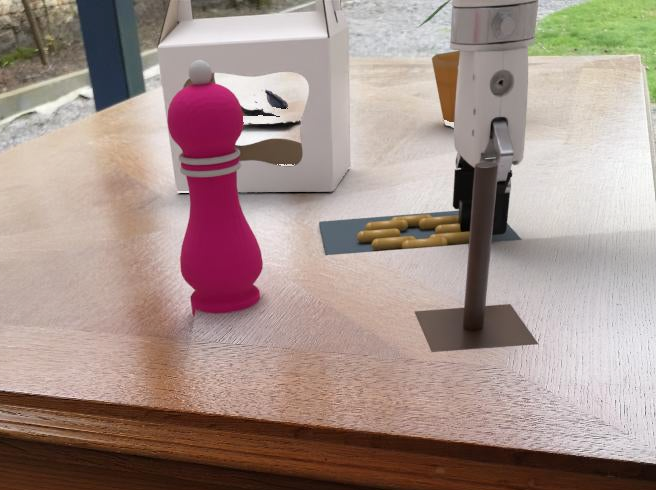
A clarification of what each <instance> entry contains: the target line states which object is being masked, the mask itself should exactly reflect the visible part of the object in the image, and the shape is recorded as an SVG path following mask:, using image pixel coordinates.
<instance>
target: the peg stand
mask: <svg viewBox="0 0 656 490" xmlns="http://www.w3.org/2000/svg"><path fill="white" fill-rule="evenodd" d="M497 176H498V164H497V163H494V162H481V163H478V164H476V165H475V171H474V184H473V197H472V211H471V224H470V237H469V244H468V251H467V265H466V279H465V292H464V294H465V295H464V304H463V307H453V308H452V307H451V308H442V309H441V308H440V309H439V308H438V309H428V310H415V311H414V315H415V316H416V319H417V321H418V324H419V326H420V328H421V331H422V333H423V335H424V338H425V340H426V342H427V345H428V346H429V349H430V352H431V353H438V352H453V351H465V350H467V351H468V350H478V349H479V350H480V349H481V350H482V349H493V348H506V347H516V346H517V347H520V346H533V345H534V346H535V345H539V342H538V341H537V339H536V338H535V337H534V335H533V333H532V332H531V331H530V330H529V328H528V327H527V325H526V324H525V322H524V321H523V320H522V318H521V317H520V315H519V314H518V313H517V311H516V310H515V308H514V306H513V305H512V304H511V303H507V304H493V305H492V304H491V305H487V296H488V295H487V294H488V293H487V292H488V284H489V273H490V263H491V262H490V261H491V252H492V242H491V241H492V230H493V219H494V208H495V198H496V187H497Z"/></svg>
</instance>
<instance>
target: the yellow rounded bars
mask: <svg viewBox="0 0 656 490" xmlns="http://www.w3.org/2000/svg"><path fill="white" fill-rule="evenodd" d="M458 211H459V216H457V215H456V216H443V217H432V216H431V215H414V216H402V217H394V218H392V220H391V221H380V222H369V223H367V225H366V226H365V230H366V231H361V232H359V233H358V235H357V240H358V242H360V243H372V249H373V250H375V252H384V251H385V250H387V251H398V249H400V250H411V249H424V248H437V247H449V245H451V246H461V245H462V244H464V245H469V237H470V224H471V211H472V200H461V201H460V204H459V209H458ZM410 227H420V228H421V229H422V230H428V229H435V234H433V235H431V236H430V237H429V238H428V239H416V238H415V237H413V236H405V237H400V236H401V233H400V232H402V231H405V230H406V229H407V228H410Z"/></svg>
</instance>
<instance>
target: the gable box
mask: <svg viewBox="0 0 656 490" xmlns="http://www.w3.org/2000/svg"><path fill="white" fill-rule="evenodd" d="M314 2H315V3H314V4H315V10H312V11H296V12H295V11H294V12H283V13H280V12H279V13H267V14H266V13H265V14H264V13H263V14H252V15H250V14H249V15H236V16H221V17H207V18H206V17H205V18H194V9H193V8H194V7H193V1H192V0H168V1H167V6H166V9H165V13H164V17H163V22H162V25H161V29H160V33H159V37H158V41H157V45H156V53H157V59H158V67H159V73H160V80H161V88H162V95H163V102H164V110H165V111H164V112H165V117H166V124H167V125H166V126H168V120H167V118H168V109H169V105H170V103H171V101H172V99H173V97H174V96H175V95H176V94H177V93H178V92H179V91H180V90H182V89H183V88H185V87H187V86H189V85H192V84H193V83H192V82H191V80H190V77H189V68H190V66H191V64H192V63H193V62H194V61H197V60H203V61H205V62H207V63H208V65H209V66H210V68H211V71H212V77H211V80H210V82H209V83H215V84H217V83H216V80H215V74H226V75H232V76H239V77H248V78H254V77H262V76H266V75H271V74H278V73H293V74H298V75H300V76H302V77H303V78H304V79H305V80H306V82H307V85H308V96H307V99H306V103H305V106H304V109H303V112H302V117H301V119H300V120H301V121H300V126H299V140H300V141H296V140H292V139H287V138H277V137H275V138H267V139H263V140H260V141H257V142H254V143H249V144H243V145H242V144H241V145H240V144H235V148H238V149H239V150H240V155H239V156H238V157H239V161H240V162H241V167H240V169H238V170H237V190H238V192H332V193H333V192H334V191H335V190H336V188H337V187H338V185H339V184H340V182H341V181H342V179H343V178H344V177H345V175H346V174H345V173H348V171H349V170H348V168H349V167H350V168H351V102H350V101H351V98H350V97H351V96H350V93H351V92H350V88H351V87H350V85H351V84H350V26H349V23H348V20H347V18H346V14H345V12H344V10H343V9H344V8H343V6H342V0H314ZM167 132H168V139H169V147H170V153H171V160H172V169H173V175H174V176H173V177H174V182H175V183H174V184H175V189H176V190H175V191H176V192H177V191H189V187H188V182H187V178H186V175H183V174H182V173H181V172H180V168H181V162H180V161H179V155H180V154H181V153H183V152H182V149H181V148H180V147H179V145H178V144H177V143H176V142H175V141H174V140H173V139H172V137H171V135H170V132H169V128H168V127H167ZM277 164H278V165H277ZM279 164H284V165H285V164H286V165H287V164H292V165H294V164H295V165H294V166H281V165H279ZM350 168H349V169H350ZM347 170H348V171H347ZM343 176H344V177H343Z"/></svg>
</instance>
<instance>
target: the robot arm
mask: <svg viewBox="0 0 656 490" xmlns="http://www.w3.org/2000/svg"><path fill="white" fill-rule="evenodd" d="M451 1H452V2H451V7H452V8H451V19H450V20H451V22H450V23H451V24H450V25H451V26H450V41H449V49H450V50H452V51H460V57H459V65H458V77H457V88H456V101H455V117H454V128H453V145H454V149H455V151H456V152H457V153H456V157H455V169H454V177H453V192H452V194H453V195H452V207H453V209H454V210H459V204H460V201H461V200H472V197H473V184H474V171H475V165H476V164H478V163H481V162H494V163H497V164H498V176H497V187H496V198H495V208H494V219H493V230H492V235H500V234H504V233H505V232H506V229H507V223H508V218H509V207H510V197H511V190H512V177H513V170H512V165H513V166H519V165H520V163H521V162H523V159H524V155H525V144H526V143H525V142H526V141H525V140H526V139H525V138H526V128H527V127H526V126H527V111H528V94H529V93H528V91H529V49H528V47H530V46H533V45H534V44H535V39H536V38H535V37H536V27H537V19H538V18H537V17H538V11H539V10H538V8H539V7H538V6H539V0H451Z"/></svg>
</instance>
